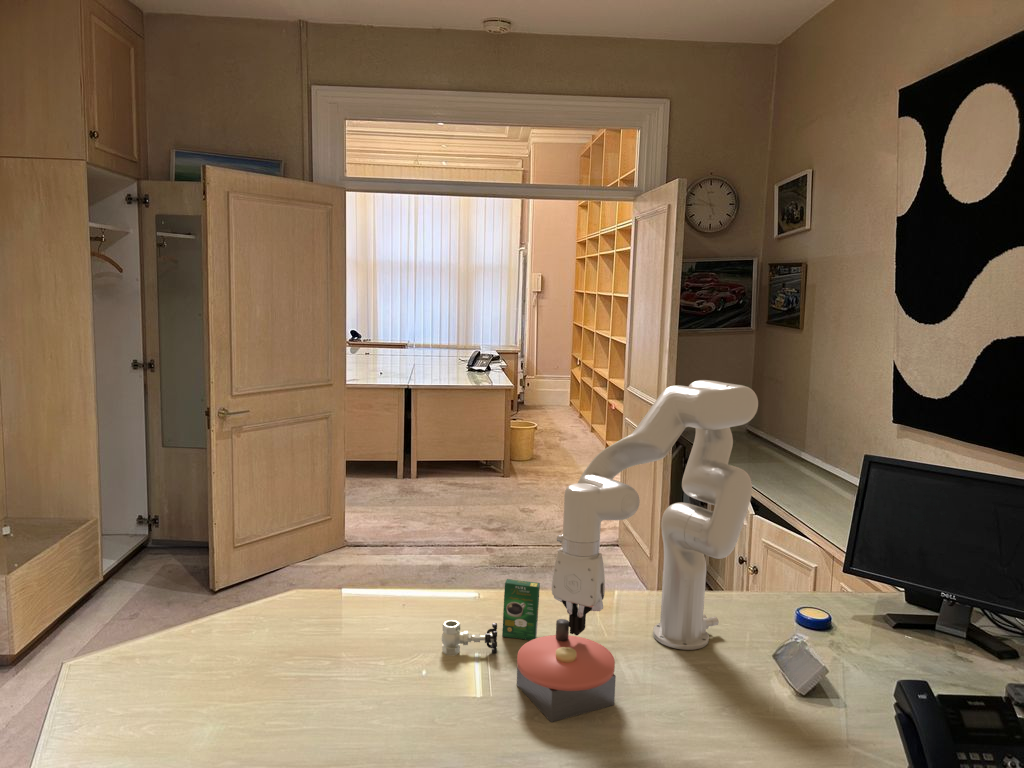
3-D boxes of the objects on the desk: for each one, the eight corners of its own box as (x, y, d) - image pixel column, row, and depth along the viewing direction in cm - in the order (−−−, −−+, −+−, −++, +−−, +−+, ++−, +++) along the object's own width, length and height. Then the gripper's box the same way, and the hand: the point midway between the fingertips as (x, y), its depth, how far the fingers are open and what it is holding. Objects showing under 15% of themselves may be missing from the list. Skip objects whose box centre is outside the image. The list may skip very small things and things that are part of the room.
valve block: (576, 670, 154) (577, 643, 153) (614, 704, 141) (615, 675, 141) (516, 684, 148) (517, 656, 147) (550, 722, 135) (552, 691, 134)
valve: (440, 659, 157) (496, 660, 158) (441, 630, 156) (497, 630, 157) (442, 645, 163) (495, 645, 164) (442, 616, 163) (496, 617, 163)
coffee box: (538, 635, 169) (540, 581, 167) (536, 641, 166) (538, 586, 164) (504, 632, 170) (505, 577, 168) (501, 637, 167) (503, 582, 166)
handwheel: (622, 691, 135) (623, 665, 134) (518, 690, 134) (519, 664, 133) (606, 641, 153) (607, 619, 153) (515, 640, 153) (516, 617, 152)
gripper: (539, 543, 149) (535, 629, 151) (607, 559, 141) (602, 649, 143) (557, 533, 155) (553, 616, 157) (622, 548, 147) (617, 635, 149)
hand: (576, 632), depth 150 cm, fingers closed
